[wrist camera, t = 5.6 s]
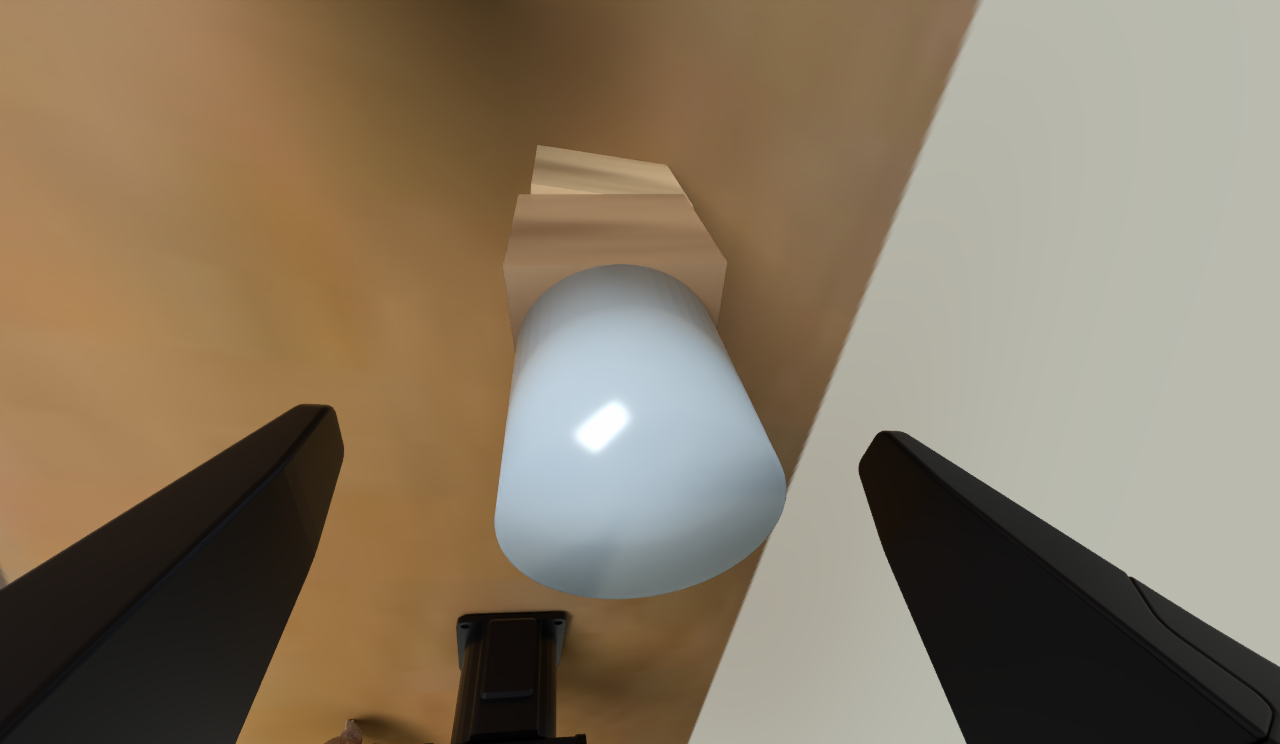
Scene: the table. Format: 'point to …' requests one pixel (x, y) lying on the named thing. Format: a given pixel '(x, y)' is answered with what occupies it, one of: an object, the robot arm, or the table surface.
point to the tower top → (607, 244)
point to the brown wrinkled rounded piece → (348, 735)
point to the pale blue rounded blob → (630, 442)
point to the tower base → (598, 174)
